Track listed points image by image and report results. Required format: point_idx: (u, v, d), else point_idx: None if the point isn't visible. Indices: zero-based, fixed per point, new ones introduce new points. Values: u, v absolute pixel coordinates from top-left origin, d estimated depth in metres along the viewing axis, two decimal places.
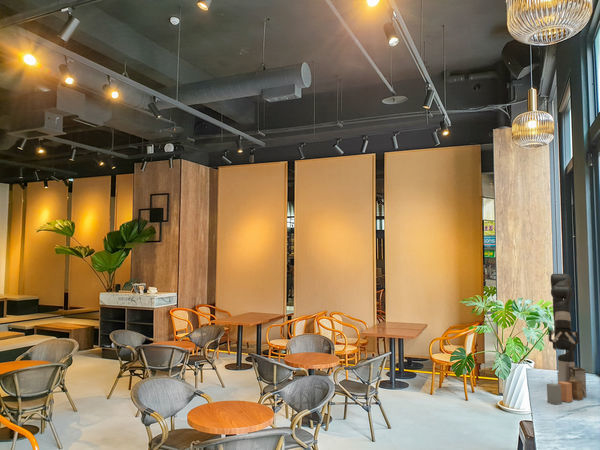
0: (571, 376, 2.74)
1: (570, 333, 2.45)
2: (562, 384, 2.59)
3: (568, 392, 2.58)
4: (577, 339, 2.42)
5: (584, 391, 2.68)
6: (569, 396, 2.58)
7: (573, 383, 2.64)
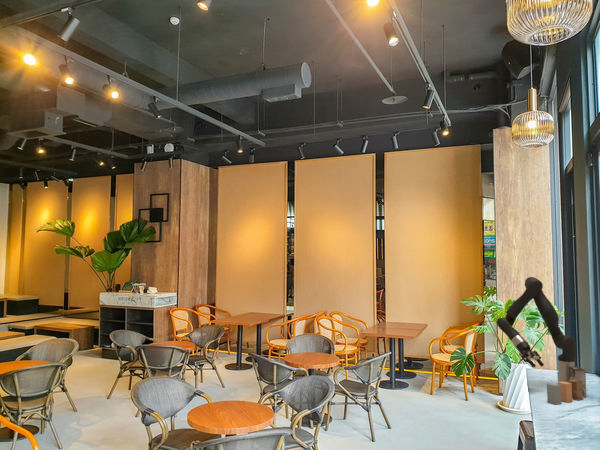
0: (571, 376, 2.74)
1: None
2: (562, 384, 2.59)
3: (568, 392, 2.58)
4: None
5: (584, 391, 2.68)
6: (569, 396, 2.58)
7: (573, 383, 2.64)
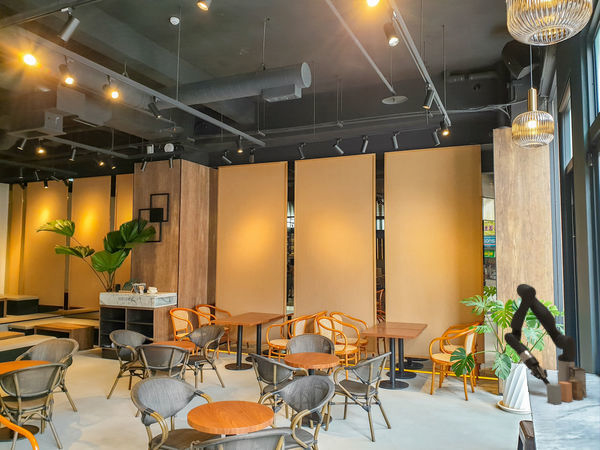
0: (571, 376, 2.74)
1: None
2: (562, 384, 2.59)
3: (568, 392, 2.58)
4: None
5: (584, 391, 2.68)
6: (569, 396, 2.58)
7: (573, 383, 2.64)
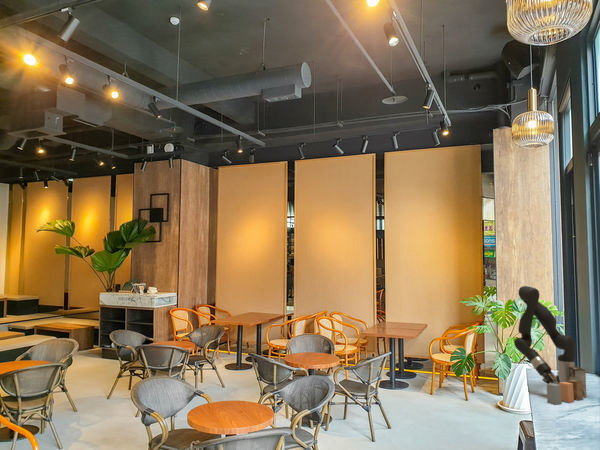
0: (571, 376, 2.74)
1: None
2: (563, 384, 2.59)
3: (570, 392, 2.57)
4: None
5: (584, 391, 2.68)
6: (570, 397, 2.57)
7: (573, 383, 2.64)
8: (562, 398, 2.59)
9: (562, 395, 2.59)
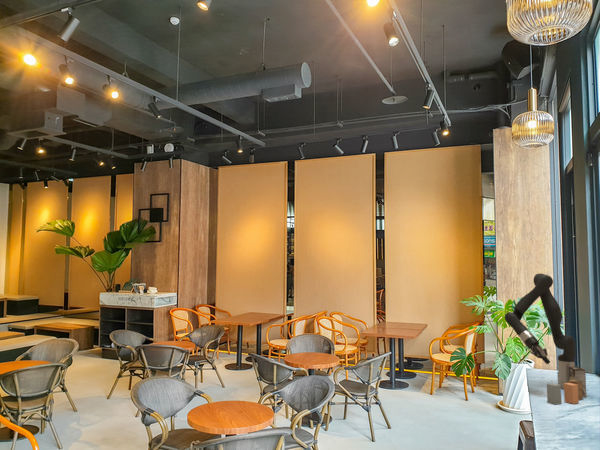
0: (571, 376, 2.74)
1: None
2: (568, 385, 2.56)
3: (574, 394, 2.55)
4: None
5: (584, 391, 2.68)
6: (575, 398, 2.55)
7: (573, 383, 2.64)
8: (567, 399, 2.56)
9: (567, 396, 2.57)
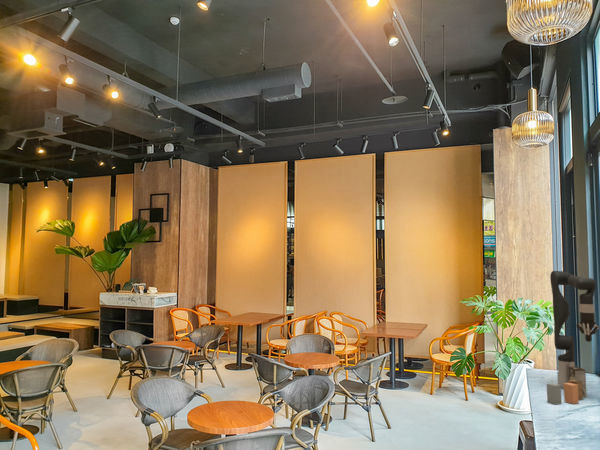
0: (571, 376, 2.74)
1: (591, 324, 2.66)
2: (568, 385, 2.56)
3: (574, 394, 2.55)
4: (592, 332, 2.65)
5: (584, 391, 2.68)
6: (575, 398, 2.55)
7: (573, 383, 2.64)
8: (567, 399, 2.56)
9: (567, 396, 2.57)
